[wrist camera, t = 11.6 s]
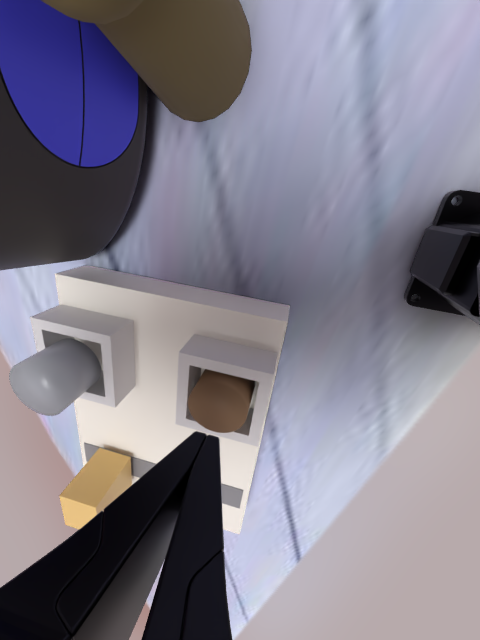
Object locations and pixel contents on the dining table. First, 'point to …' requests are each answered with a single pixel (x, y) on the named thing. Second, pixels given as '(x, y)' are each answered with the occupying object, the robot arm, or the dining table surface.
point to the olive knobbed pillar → (176, 47)
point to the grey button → (55, 376)
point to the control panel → (165, 366)
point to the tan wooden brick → (95, 487)
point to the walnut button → (221, 401)
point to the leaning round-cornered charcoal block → (64, 136)
